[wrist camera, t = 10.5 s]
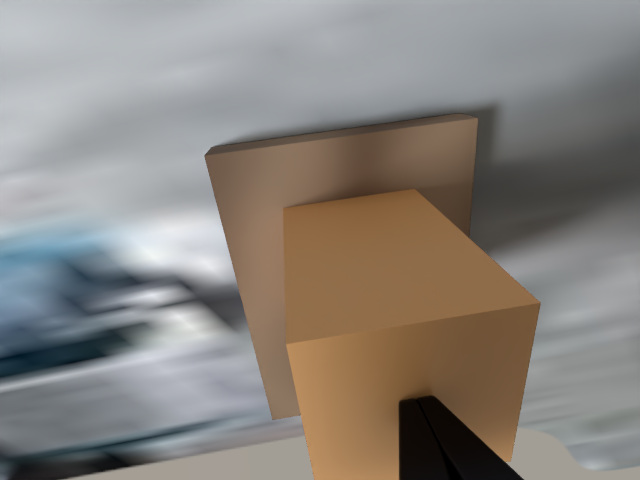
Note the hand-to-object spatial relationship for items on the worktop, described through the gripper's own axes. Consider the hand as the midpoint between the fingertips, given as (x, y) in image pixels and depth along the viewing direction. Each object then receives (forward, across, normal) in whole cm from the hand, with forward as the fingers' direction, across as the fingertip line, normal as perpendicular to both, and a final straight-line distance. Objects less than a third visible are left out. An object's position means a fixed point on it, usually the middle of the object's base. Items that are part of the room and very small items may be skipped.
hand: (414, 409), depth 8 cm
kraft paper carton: (+8, 0, 0) cm, 8 cm away
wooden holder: (+9, 0, +2) cm, 9 cm away
